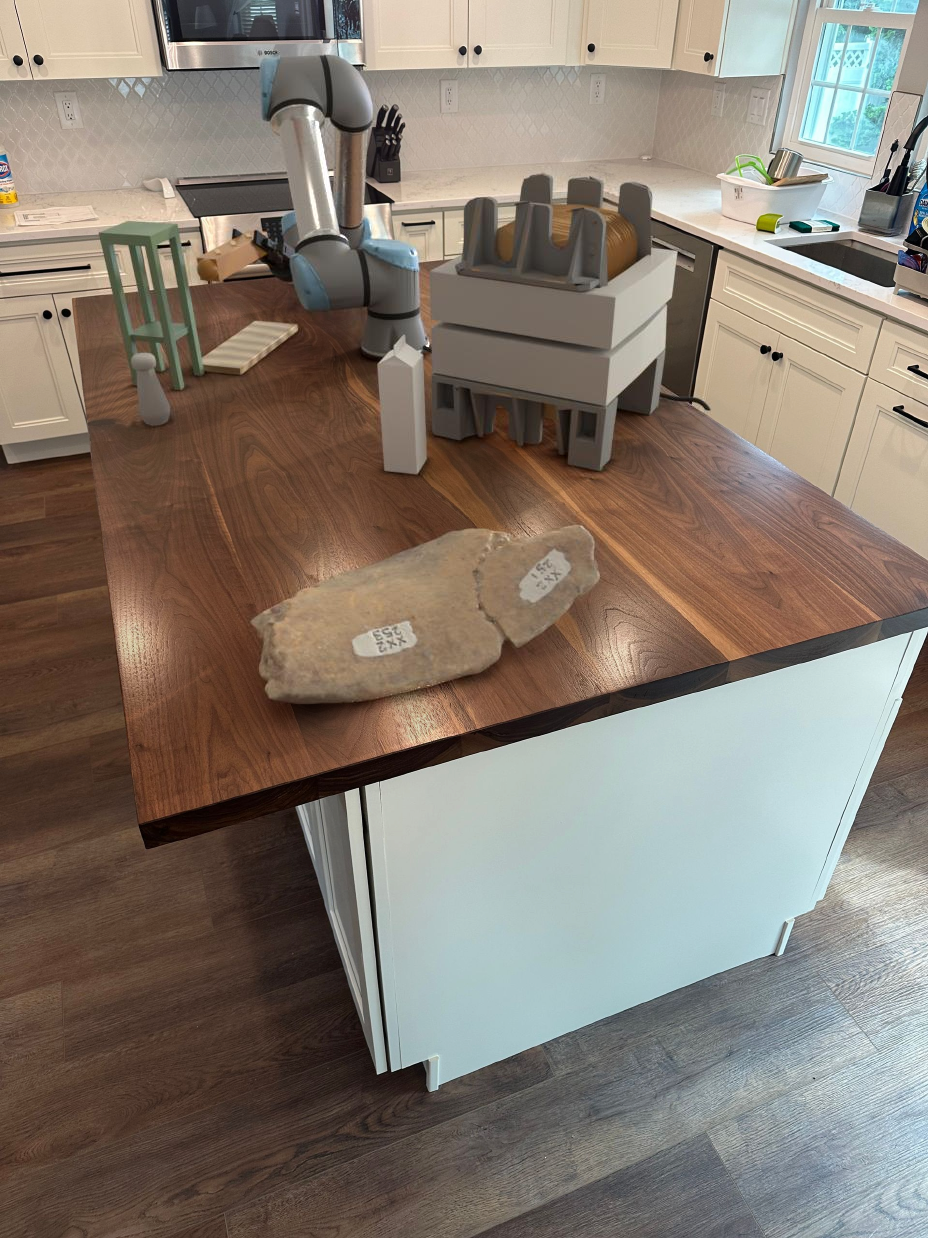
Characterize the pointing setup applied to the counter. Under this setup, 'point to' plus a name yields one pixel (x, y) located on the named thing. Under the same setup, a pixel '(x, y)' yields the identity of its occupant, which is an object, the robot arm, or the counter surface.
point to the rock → (421, 614)
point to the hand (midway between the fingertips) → (244, 235)
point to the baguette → (229, 257)
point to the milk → (402, 409)
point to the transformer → (551, 318)
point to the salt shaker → (150, 391)
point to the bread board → (247, 347)
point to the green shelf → (154, 330)
